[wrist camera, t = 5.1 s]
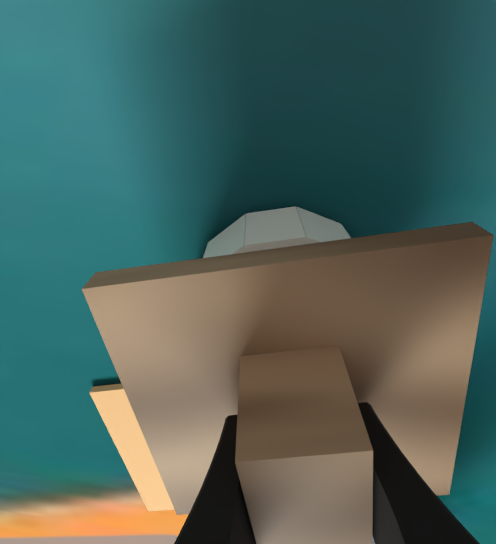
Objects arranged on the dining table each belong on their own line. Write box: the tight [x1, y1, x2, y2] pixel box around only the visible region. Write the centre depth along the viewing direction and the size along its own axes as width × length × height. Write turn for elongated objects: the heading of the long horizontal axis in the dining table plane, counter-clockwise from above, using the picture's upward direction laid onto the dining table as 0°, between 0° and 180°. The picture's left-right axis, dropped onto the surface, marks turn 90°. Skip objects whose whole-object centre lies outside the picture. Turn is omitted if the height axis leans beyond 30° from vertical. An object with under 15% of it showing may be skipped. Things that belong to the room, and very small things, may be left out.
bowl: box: [203, 206, 351, 258], centre depth 17 cm, size 9×9×4 cm
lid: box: [82, 222, 493, 544], centre depth 11 cm, size 11×11×4 cm
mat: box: [90, 384, 174, 511], centre depth 25 cm, size 13×13×1 cm
